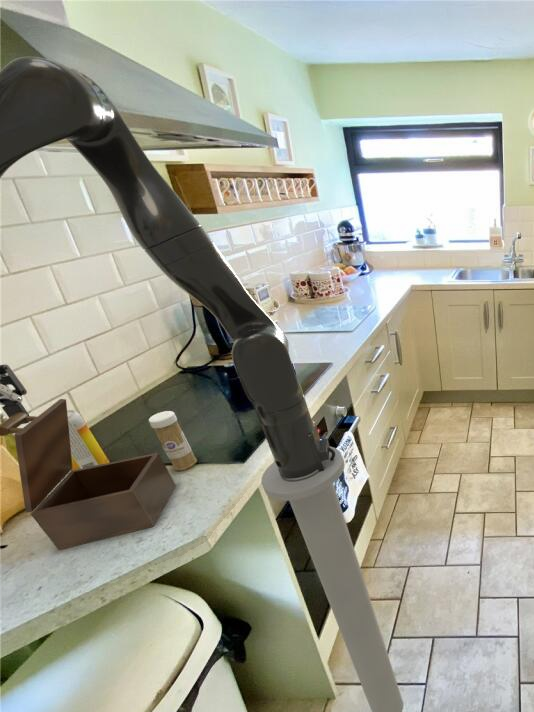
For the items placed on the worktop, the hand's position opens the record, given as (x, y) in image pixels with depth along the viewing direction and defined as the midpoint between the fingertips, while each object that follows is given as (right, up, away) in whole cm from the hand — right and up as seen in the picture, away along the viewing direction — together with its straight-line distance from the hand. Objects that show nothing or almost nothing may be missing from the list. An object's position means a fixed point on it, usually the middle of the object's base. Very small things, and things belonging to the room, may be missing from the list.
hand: (7, 435), depth 71 cm
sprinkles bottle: (+10, -10, +26) cm, 30 cm away
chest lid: (+4, -4, +3) cm, 6 cm away
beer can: (-10, -12, +25) cm, 30 cm away
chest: (+8, -17, +12) cm, 23 cm away
